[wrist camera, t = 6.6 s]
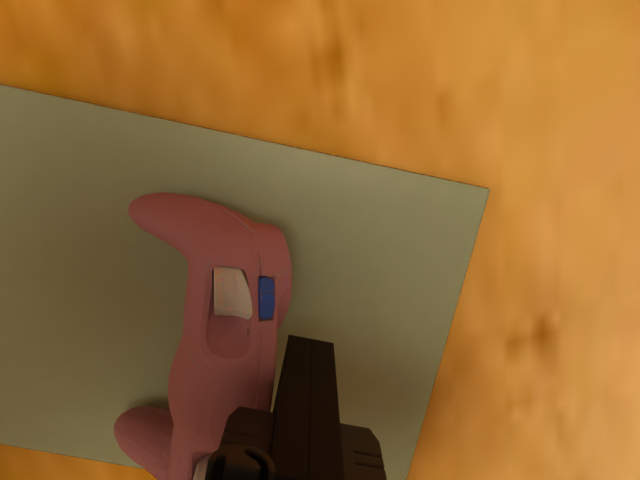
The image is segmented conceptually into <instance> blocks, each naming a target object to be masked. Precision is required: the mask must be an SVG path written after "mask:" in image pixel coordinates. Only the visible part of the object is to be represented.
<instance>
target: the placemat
mask: <svg viewBox="0 0 640 480" xmlns="http://www.w3.org/2000/svg"><path fill="white" fill-rule="evenodd" d="M160 192H167V193H176V194H183V195H188V196H193V197H197V198H201V199H204V200H207V201H210V202H213V203H217V204H220V205H222V206H225V207H227V208H229V209H231V210H233V211H236V212H238V213H240V214H242V215H244V216H246V217H247V218H249V219H250V220H251V221H253V222H254V223H263V224H273V225H275V226H276V227H277V228H278V229H279V230H280V231H281V232H282V234H283V235H284V238H285V240H286V243H287V246H288V250H289V255H290V260H291V269H292V289H291V299H290V303H289V307H288V311H287V314H286V316H285V318H284V320H283V322H282V324H281V326H280V327H279V329H278V330H277V355H276V371H275V379H274V388H273V396H272V404H271V411H270V412H273V407H274V403H275V398H276V393H277V388H278V383H279V379H280V374H281V369H282V364H283V359H284V355H285V350H286V345H287V340H288V335H294V336H299V337H305V338H310V339H315V340H321V341H326V342H331V343H334V353H335V366H336V378H337V391H338V403H339V416H340V423H343V424H348V425H354V426H359V427H365V428H370V430H371V431H372V432H373V434H374V435H375V436H376V438H377V439H378V441H379V442H380V447H381V452H382V458H383V462H384V470H385V473H386V478H387V480H406V479H407V476H408V472H409V469H410V466H411V462H412V459H413V455H414V452H415V448H416V445H417V441H418V438H419V434H420V431H421V427H422V424H423V421H424V417H425V414H426V410H427V407H428V403H429V400H430V396H431V393H432V389H433V386H434V382H435V379H436V376H437V372H438V369H439V365H440V362H441V358H442V355H443V351H444V348H445V344H446V341H447V337H448V334H449V331H450V327H451V324H452V320H453V317H454V313H455V310H456V306H457V303H458V299H459V296H460V292H461V289H462V286H463V282H464V279H465V275H466V272H467V268H468V265H469V261H470V258H471V254H472V251H473V247H474V244H475V241H476V237H477V234H478V230H479V227H480V223H481V220H482V216H483V213H484V209H485V206H486V203H487V199H488V196H489V192H490V189H488V188H485V187H481V186H476V185H471V184H467V183H462V182H457V181H452V180H448V179H443V178H438V177H434V176H429V175H424V174H420V173H415V172H410V171H406V170H401V169H396V168H392V167H387V166H382V165H378V164H373V163H368V162H364V161H359V160H354V159H350V158H345V157H340V156H336V155H331V154H326V153H321V152H317V151H312V150H307V149H303V148H298V147H293V146H289V145H284V144H279V143H275V142H270V141H265V140H261V139H256V138H251V137H247V136H242V135H237V134H233V133H228V132H223V131H219V130H214V129H209V128H205V127H200V126H195V125H190V124H186V123H181V122H176V121H172V120H167V119H162V118H158V117H153V116H148V115H144V114H139V113H134V112H130V111H125V110H120V109H116V108H111V107H106V106H102V105H97V104H92V103H88V102H83V101H78V100H73V99H69V98H64V97H59V96H55V95H50V94H45V93H41V92H36V91H31V90H27V89H22V88H17V87H13V86H8V85H3V84H0V444H3V445H9V446H15V447H20V448H26V449H32V450H38V451H43V452H49V453H55V454H61V455H67V456H72V457H78V458H84V459H90V460H95V461H101V462H107V463H113V464H118V465H124V466H130V467H136V468H141V469H144V468H143V467H141V466H140V465H139V464H137V463H136V462H134V461H133V460H132V459H131V458H130V457H129V456H127V455H126V454H125V453H124V452H123V451H122V450H121V448H120V447H119V445H118V443H117V440H116V438H115V435H114V424H115V422H116V420H117V418H118V417H119V416H120V415H121V414H122V413H124V412H125V411H127V410H129V409H131V408H134V407H137V406H139V407H144V406H151V407H158V408H162V409H167V410H170V408H169V400H168V380H169V374H170V370H171V366H172V363H173V359H174V356H175V353H176V351H177V348H178V346H179V343H180V340H181V338H182V335H183V321H184V305H185V295H186V286H187V277H188V262H187V259H186V258H185V257H184V256H183V255H182V254H181V253H180V252H179V251H178V250H176V249H175V248H173V247H172V246H170V245H169V244H167V243H166V242H164V241H163V240H161V239H159V238H157V237H155V236H153V235H152V234H150V233H148V232H146V231H144V230H142V229H140V228H139V226H138V225H137V224H136V223H135V222H134V221H133V219H132V218H131V217H130V216H129V214H128V208H129V204H130V203H131V202H132V201H133V200H134V199H136V198H138V197H139V196H142V195H147V194H151V193H160Z"/></svg>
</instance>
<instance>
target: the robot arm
mask: <svg viewBox="0 0 640 480" xmlns="http://www.w3.org/2000/svg"><path fill="white" fill-rule="evenodd" d="M204 480H387V478H386V473H385V470H384V462H383V458H382V452H381V447H380V442H379V441H378V439H377V438H376V436H375V435H374V434H373V432H372V431H371V430H370V428H365V427H359V426H354V425H348V424H343V423H340V416H339V403H338V391H337V378H336V366H335V353H334V343H331V342H326V341H321V340H315V339H310V338H305V337H299V336H294V335H288V340H287V345H286V350H285V355H284V359H283V364H282V369H281V374H280V379H279V383H278V388H277V393H276V398H275V403H274V407H273V412H269V411H263V410H258V409H252V408H247V407H241V406H239V407H238V408H237V409H236V410H235V411H233V412H232V413H231V414H230V415H229V416H228V419H227V422H226V425H225V429H224V432H223V436H222V439H221V442H220V446H219V449H218V450H216V451H214V452H213V453H212V455H211V456H210V458H209V459H208V463H207V468H206V474H205V479H204Z"/></svg>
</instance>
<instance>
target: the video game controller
mask: <svg viewBox="0 0 640 480" xmlns="http://www.w3.org/2000/svg"><path fill="white" fill-rule="evenodd" d="M128 214H129V216H130V217H131V218H132V219H133V221H134V222H135V223H136V224H137V225H138V226H139V228H140V229H142V230H144V231H146V232H148V233H150V234H152V235H153V236H155V237H157V238H159V239H161V240H163V241H164V242H166V243H167V244H169V245H170V246H172V247H173V248H175V249H176V250H178V251H179V252H180V253H181V254H182V255H183V256H184V257H185V258H186V259H187V262H188V277H187V286H186V295H185V305H184V321H183V335H182V338H181V340H180V343H179V346H178V348H177V351H176V353H175V356H174V359H173V363H172V366H171V370H170V374H169V380H168V400H169V408H170V410H167V409H162V408H158V407H151V406H144V407H139V406H137V407H134V408H131V409H129V410H127V411H125V412H124V413H122V414H121V415H120V416H119V417H118V418H117V420H116V422H115V424H114V435H115V438H116V440H117V443H118V445H119V447H120V448H121V450H122V451H123V452H124V453H125V454H126V455H127V456H129V457H130V458H131V459H132V460H133V461H134V462H136V463H137V464H139V465H140V466H141V467H143V468H144V469H145V470H147V471H148V472H150V473H151V474H152V475H154V476H155V477H156V478H157V479H158V480H204V479H205V474H206V468H207V463H208V459H209V458H210V456H211V455H212V453H213V452H214V451H216V450H218V449H219V446H220V442H221V439H222V436H223V432H224V429H225V425H226V422H227V419H228V416H229V415H230V414H231V413H232V412H233V411H235V410H236V409H237V408H238V407H239V406H241V407H247V408H252V409H258V410H263V411H269V412H270V411H271V404H272V396H273V388H274V379H275V371H276V355H277V330H278V329H279V327H280V326H281V324H282V322H283V320H284V318H285V316H286V314H287V311H288V307H289V303H290V299H291V289H292V269H291V260H290V255H289V250H288V246H287V243H286V240H285V238H284V235H283V234H282V232H281V231H280V230H279V229H278V228H277V227H276V226H275V225H273V224H263V223H254V222H253V221H251V220H250V219H249V218H247V217H246V216H244V215H242V214H240V213H238V212H236V211H233V210H231V209H229V208H227V207H225V206H222V205H220V204H217V203H213V202H210V201H207V200H204V199H201V198H197V197H193V196H188V195H183V194H176V193H167V192H160V193H151V194H147V195H142V196H139V197H138V198H136V199H134V200H133V201H132V202H131V203H130V204H129V208H128Z"/></svg>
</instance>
